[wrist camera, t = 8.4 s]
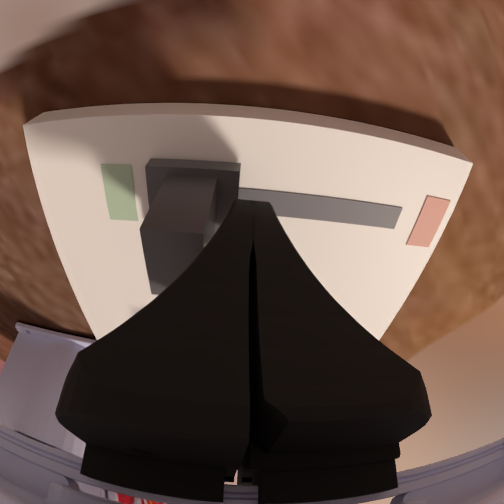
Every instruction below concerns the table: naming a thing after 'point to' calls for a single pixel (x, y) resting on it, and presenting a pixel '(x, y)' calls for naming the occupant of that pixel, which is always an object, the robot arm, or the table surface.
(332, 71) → the table surface
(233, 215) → the robot arm
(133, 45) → the table surface
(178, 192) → the breaker
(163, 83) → the table surface
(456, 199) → the breaker panel
